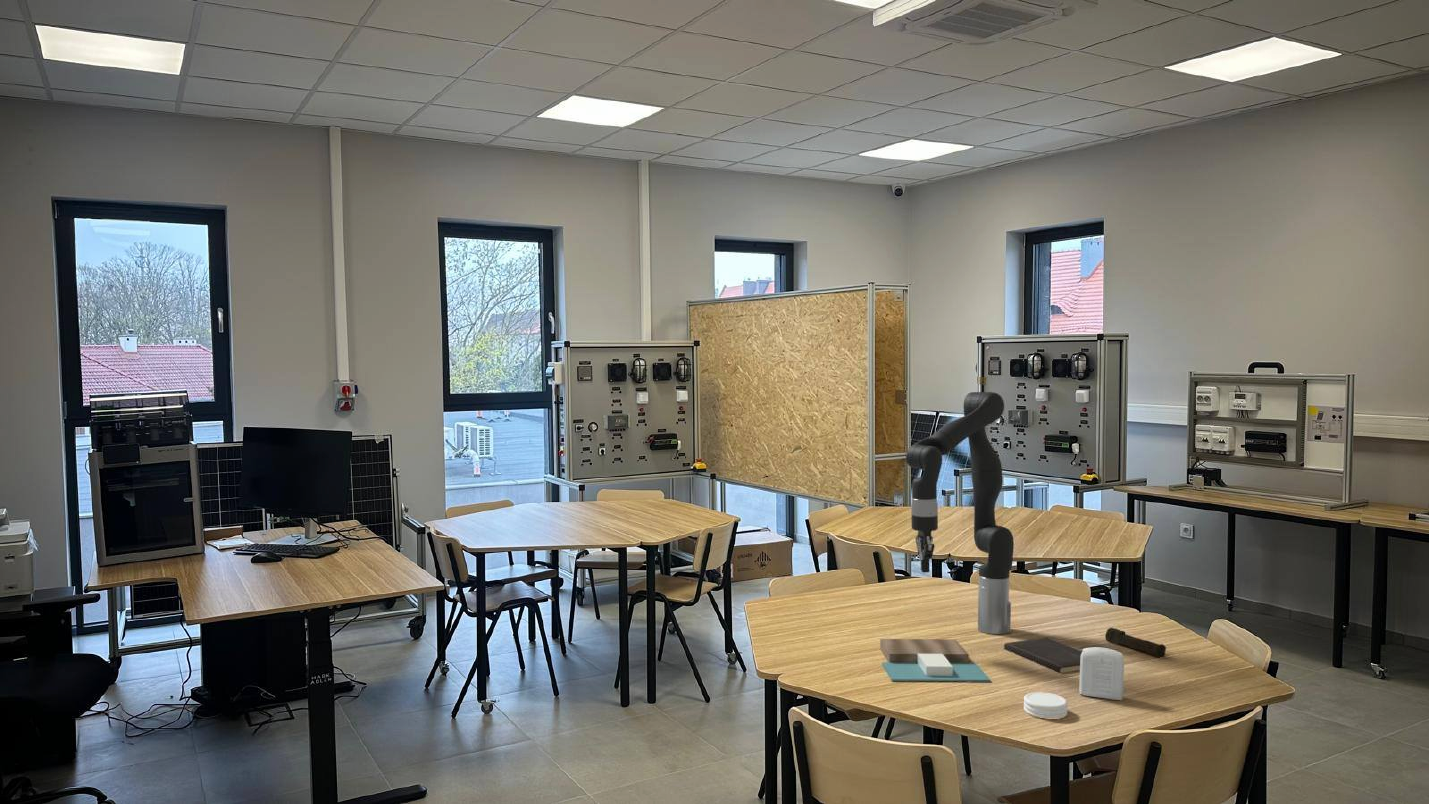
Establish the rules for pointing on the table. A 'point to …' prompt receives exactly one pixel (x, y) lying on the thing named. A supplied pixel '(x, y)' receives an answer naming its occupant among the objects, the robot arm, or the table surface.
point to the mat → (915, 673)
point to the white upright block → (1101, 673)
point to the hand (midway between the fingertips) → (925, 571)
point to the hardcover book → (1047, 653)
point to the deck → (922, 649)
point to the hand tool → (1134, 642)
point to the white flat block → (934, 665)
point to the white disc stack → (1045, 705)
